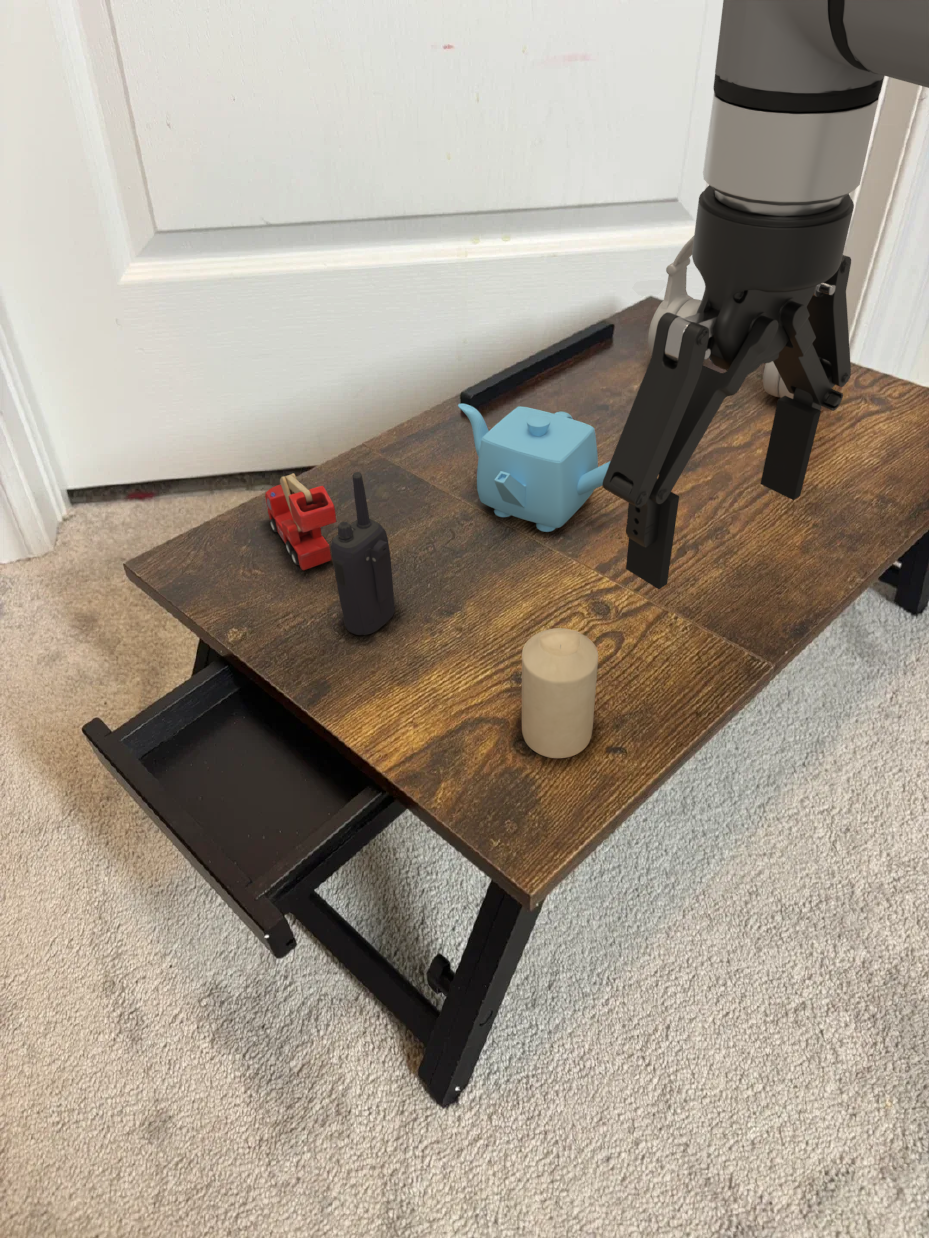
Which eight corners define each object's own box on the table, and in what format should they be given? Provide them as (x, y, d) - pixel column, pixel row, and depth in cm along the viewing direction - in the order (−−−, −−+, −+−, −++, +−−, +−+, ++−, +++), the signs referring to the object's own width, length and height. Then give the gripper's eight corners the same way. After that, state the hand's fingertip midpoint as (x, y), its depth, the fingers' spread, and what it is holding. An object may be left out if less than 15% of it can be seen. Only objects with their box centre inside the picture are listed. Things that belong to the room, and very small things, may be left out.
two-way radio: (376, 596, 86) (357, 457, 76) (414, 614, 84) (399, 474, 74) (336, 630, 83) (310, 490, 72) (374, 650, 81) (353, 508, 70)
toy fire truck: (297, 511, 96) (281, 430, 90) (348, 585, 87) (334, 500, 81) (266, 521, 95) (248, 439, 89) (315, 597, 86) (298, 512, 80)
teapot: (642, 499, 95) (651, 412, 89) (578, 575, 87) (583, 485, 80) (492, 453, 103) (490, 369, 96) (420, 518, 94) (413, 432, 88)
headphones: (824, 389, 110) (865, 222, 98) (792, 418, 106) (831, 248, 93) (676, 345, 120) (695, 188, 107) (641, 370, 116) (657, 209, 103)
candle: (569, 697, 76) (574, 605, 69) (605, 743, 72) (614, 650, 65) (509, 720, 74) (508, 628, 67) (543, 769, 70) (545, 677, 63)
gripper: (853, 122, 54) (784, 438, 68) (543, 237, 43) (537, 588, 57) (978, 147, 50) (876, 480, 64) (669, 283, 38) (629, 651, 53)
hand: (716, 531), depth 61 cm, fingers open, 13 cm apart
